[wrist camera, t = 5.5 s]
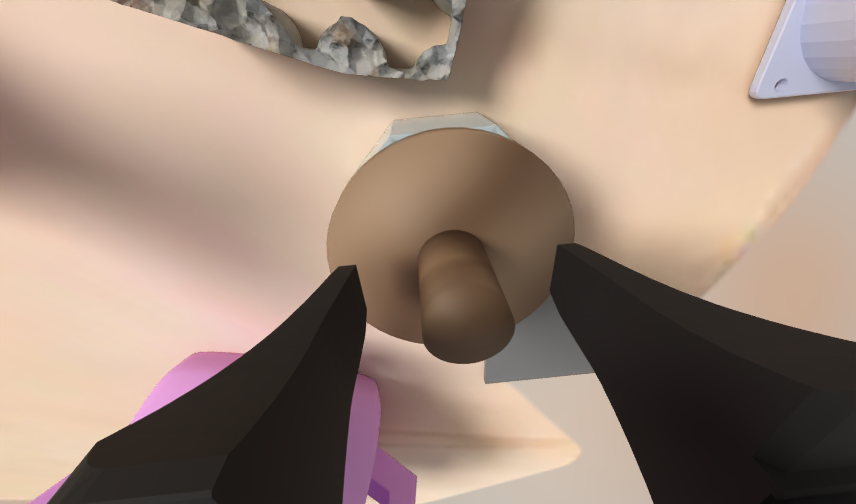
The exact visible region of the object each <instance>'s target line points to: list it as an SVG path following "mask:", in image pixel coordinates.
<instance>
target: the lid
mask: <svg viewBox="0 0 856 504" xmlns="http://www.w3.org/2000/svg"><path fill="white" fill-rule="evenodd" d="M573 242H574V218H573V212H572V207H571V204H570V201H569V199H568V196H567V193H566V191H565V189H564V188H563V186H562V184H561V182H560V180H559V179H558V178H557V176H556V175H555V174H554V173H553V171H552V170H551V169H550V168H549V167H548V166H547V165H546V164H545V163H544V162H543V161H542V160H541V159H539V158H538V157H537V156H536V155H535V154H533V153H532V152H530V151H529V150H527V149H526V148H524V147H523V146H521V145H520V144H518V143H517V142H515V141H513V140H511V139H508V138H506V137H504V136H502V135H499V134H496V133H493V132H489V131H485V130H482V129H474V128H466V127H448V128H439V129H432V130H426V131H423V132H419V133H416V134H413V135H410V136H407V137H405V138H403V139H400V140H398V141H396V142H394V143H392V144H390V145H388V146H387V147H385V148H384V149H382V150H381V151H379V152H378V153H376V154H375V155H374V156H373V157H371V158H370V159H369V160H368V161H367V162H366V163H364V164H363V165H362V166H361V167H360V169H359V170H358V171H357V172H356V173H355V174H354V176H353V177H352V178H351V179H350V181H349V183H348V184H347V186H346V187H345V189H344V190H343V192H342V194H341V196H340V198H339V200H338V202H337V205H336V207H335V209H334V211H333V214H332V217H331V221H330V224H329V228H328V236H327V258H328V263H329V268H330V272H331V274H332V272H333V271H334V270H335V269H336V268H337V267H338V266H347V265H356V266H357V270H358V274H359V279H360V283H361V287H362V291H363V295H364V299H365V303H366V307H367V318H366V322H367V323H369V324H370V325H372V326H374V327H375V328H377V329H378V330H380V331H382V332H385V333H387V334H389V335H391V336H394V337H397V338H399V339H402V340H406V341H410V342H415V343H421V344H424V345H425V347H426V348H427V350H428V351H429V352H430V353H431V354H432V355H434V356H435V357H437V358H439V359H441V360H443V361H446V362H450V363H456V364H469V363H476V362H480V361H483V360H486V359H488V358H491V357H493V356H495V355H496V354H498V353H499V352H501V351H502V350H503V349H504V348H505V347H506V346H507V345H508V344H509V342H510V341H511V339H512V337H513V335H514V332H515V325H516V324H518V323H519V322H521V321H522V320H524V319H525V318H527V317H528V316H529V315H531V314H532V313H533V312H534V311H535V310H536V309H538V308H539V307H540V306H541V305H542V304H543V303H544V302H545V301H546V299H547V298H548V297H549V296H550V295H551V293H550V286H551V279H552V273H553V267H554V261H555V255H556V249H557V245H559V244H570V243H573Z"/></svg>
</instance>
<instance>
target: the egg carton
mask: <svg viewBox="0 0 856 504" xmlns="http://www.w3.org/2000/svg"><path fill="white" fill-rule="evenodd" d="M111 1H114V2H117V3H119V4H121V5H126V6H130V7H133V8H136V9H140V10H143V11H146V12H149V13H152V14H156V15H159V16H162V17H165V18H168V19H171V20H174V21H178V22H181V23H184V24H187V25H190V26H193V27H196V28H200V29H203V30H207V31H210V32H213V33H217V34H220V35H223V36H225V37H228V38H230V39H233V40H236V41H239V42H242V43H245V44H249V45H252V46H255V47H258V48H261V49H265V50H269V51H272V52H275V53H278V54H281V55H285V56H288V57H292V58H295V59H298V60H301V61H304V62H306V63H309V64H312V65H316V66H319V67H322V68H325V69H329V70H333V71H337V72H341V73H345V74H356V75H365V76H375V77H387V78H406V79H412V80H419V81H425V80H427V79H431V80H447V79H448V78H449V74H450V70H451V66H452V62H453V58H454V55H455V50H456V46H457V42H458V38H459V33H460V28H461V24H462V18H463V13H464V8H465V4H466V1H467V0H433V1H434V3H435V4H436V6H437V7H438V8H439V9H440V10H441V11H442V12H444V13H445V14H447V15H449V16H450V17H451V25H450V29H449V35H448V40H447V44H445V45H438V46H433V47H431V48H430V49H428V50H426V51H424V52H423V53H422V55H421V56H420V57H419V58H418V60H417V62H416V63H415V65H414V67H412V68H410V69H408V68H391V67H389V66H388V63H387V57H386V53H385V50H384V48H383V46H382V44H381V42H380V41H379V39H378V38H377V36H376V35H375V34H374V33H373V32H371V31H370V30H369V29H368V28H367V27H366V26H364V25H363V24H361V23H358V22H357V21H356V20H354V19H353V18H351V17H344V16H341V17H340V19H339V20H338V22H337V23H335V24H333V25H332V26H330V27H329V28H328V29H327V30H326V31H325V32H324V33H323V34H322V36H321V38H320V40H319V42H318V46H317V48H305V47H303V45H302V39H301V36H300V34H299V31H298V29H297V27H296V26H295V24H294V23H293V22H292V20H291V19H290V18H289V17H288V16H287V15H286V14H285V13H284V12H283V11H281V10H280V9H278V8H276V7H274V6H272V5H270V4H269V3H267V2H264V1H262V0H111Z"/></svg>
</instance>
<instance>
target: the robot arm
mask: <svg viewBox="0 0 856 504" xmlns="http://www.w3.org/2000/svg"><path fill="white" fill-rule="evenodd" d="M777 82H778V84H777V86H776V87H775V85H776V83H777ZM774 87H775V88H774ZM853 90H856V0H786V3H785V5H784V8H783V10H782V12H781V15H780V17H779V20H778V22H777V24H776V27H775V29H774V32H773V34H772V36H771V39H770V41H769V44H768V46H767V48H766V51H765V53H764V56H763V58H762V60H761V63H760V65H759V68H758V70H757V72H756V75H755V77H754V80H753V82H752V84H751V87H750V91H749V93H750V96H751V97H752V98H756V99H769V98H780V97H790V96H801V95H811V94H822V93H832V92H843V91H853ZM550 293H551V296H552V298H553V301H554V303H555V305H556V308H557V310H558V312H559V314H560V316H561V318H562V320H563V321H564V323H565V325H566V326H567V328H568V330H569V331H570V333H571V335H572V336H573V338H574V339H575V341H576V343H577V344H578V346H579V347H580V349H581V351H582V352H583V354H584V356H585V357H586V359H587V360H588V362H589V364H590V365H591V367H592V368H593V370H594V372H595V373H596V375H597V377H598V379H599V381H600V382H601V384H602V386H603V389H604V391H605V393H606V394H607V397H608V399H609V401H610V403H611V405H612V407H613V409H614V411H615V413H616V416H617V418H618V420H619V422H620V424H621V426H622V429H623V431H624V433H625V435H626V437H627V440H628V442H629V444H630V447H631V449H632V451H633V454H634V456H635V458H636V461H637V463H638V466H639V468H640V471H641V473H642V475H643V478H644V480H645V482H646V485H647V487H648V490H649V493H650V495H651V498H652V500H653V503H654V504H856V342H852V341H848V340H843V339H839V338H835V337H830V336H826V335H822V334H818V333H814V332H810V331H806V330H802V329H798V328H794V327H790V326H787V325H783V324H779V323H776V322H772V321H769V320H765V319H762V318H758V317H755V316H751V315H749V314H745V313H742V312H738V311H735V310H732V309H729V308H726V307H723V306H720V305H716V304H714V303H711V302H708V301H706V300H703V299H700V298H698V297H695V296H692V295H689V294H687V293H684V292H681V291H679V290H676V289H674V288H671V287H669V286H667V285H665V284H662V283H660V282H658V281H655V280H653V279H651V278H648V277H646V276H644V275H642V274H640V273H637V272H635V271H633V270H631V269H629V268H627V267H625V266H623V265H621V264H619V263H617V262H615V261H613V260H611V259H609V258H607V257H605V256H602V255H600V254H598V253H596V252H594V251H592V250H590V249H588V248H586V247H584V246H581V245H579V244H576V243H570V244H559V245H557V249H556V255H555V261H554V267H553V273H552V279H551V286H550ZM366 318H367V307H366V303H365V299H364V295H363V291H362V287H361V283H360V279H359V274H358V270H357V266H356V265H347V266H338V267H337V268H336V269H335V270H334V271H333V272H332V274H331V275H330V276H329V277H328V278H327V279H326V280H325V281H324V282H323V283H322V284H321V286H320V287H319V288H318V289H317V290H316V291H315V292H314V293H313V294H312V295H311V296H310V297H309V298H308V299H307V300H306V301H305V302H304V303H303V304H302V305H301V306H300V307H299V308H298V309H297V310H296V311H295V312H294V313H293V314H292V315H291V316H290V317H289V318H288V319H286V320H285V321H284V322H283V323H282V324H281V325H280V326H279V327H278V328H277V329H275V330H274V331H273V332H272V333H271V334H270V335H268V336H267V337H266V338H265V339H263V340H262V341H261V342H260V343H258V344H257V345H256V346H255V347H253V348H252V349H251V350H249V351H248V352H247V353H245V354H244V355H242V356H241V357H240V358H238V359H237V360H235V361H234V362H232V363H231V364H230V365H228V366H227V367H225V368H224V369H222V370H221V371H220V372H218V373H217V374H215V375H214V376H212V377H211V378H209V379H208V380H206V381H204V382H203V383H201V384H200V385H198V386H197V387H195V388H193V389H192V390H190V391H188V392H187V393H185V394H184V395H182V396H180V397H179V398H177V399H175V400H174V401H172V402H170V403H168V404H167V405H165V406H163V407H161V408H160V409H158V410H156V411H154V412H152V413H151V414H149V415H147V416H145V417H143V418H141V419H140V420H138V421H136V422H134V423H132V424H130V425H128V426H127V427H125V428H123V429H121V430H119V431H117V432H116V433H114V434H112V435H110V436H108V437H106V438H104V439H102V440H100V441H98V442H97V443H96V444H95V445H94V446H93V448H92V449H91V450H90V451H89V453H88V454H87V455H86V456H85V457H84V459H83V460H82V461H81V462H80V464H79V465H78V466H77V467H76V468H75V470H74V471H73V472H72V473H71V475H70V476H69V477H68V478H67V479H66V481H65V482H64V483H63V484H62V486H61V487H60V488H59V489H58V490H57V492H56V493H55V494H54V495H53V497H52V498H51V499H50V500H49V501H48V503H47V504H343V490H344V476H345V464H346V453H347V441H348V431H349V422H350V412H351V405H352V399H353V393H354V388H355V383H356V378H357V374H358V369H359V364H360V359H361V354H362V349H363V344H364V339H365V332H366Z"/></svg>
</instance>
